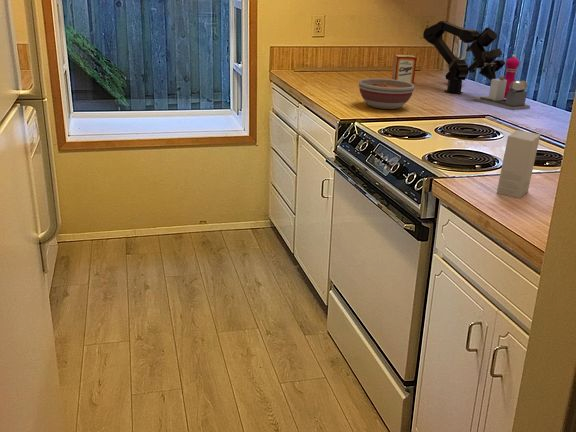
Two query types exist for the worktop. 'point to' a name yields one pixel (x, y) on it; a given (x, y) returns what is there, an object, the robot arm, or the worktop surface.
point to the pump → (497, 88)
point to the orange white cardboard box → (404, 68)
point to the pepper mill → (510, 72)
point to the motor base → (510, 97)
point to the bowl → (385, 92)
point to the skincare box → (518, 163)
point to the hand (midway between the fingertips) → (494, 81)
